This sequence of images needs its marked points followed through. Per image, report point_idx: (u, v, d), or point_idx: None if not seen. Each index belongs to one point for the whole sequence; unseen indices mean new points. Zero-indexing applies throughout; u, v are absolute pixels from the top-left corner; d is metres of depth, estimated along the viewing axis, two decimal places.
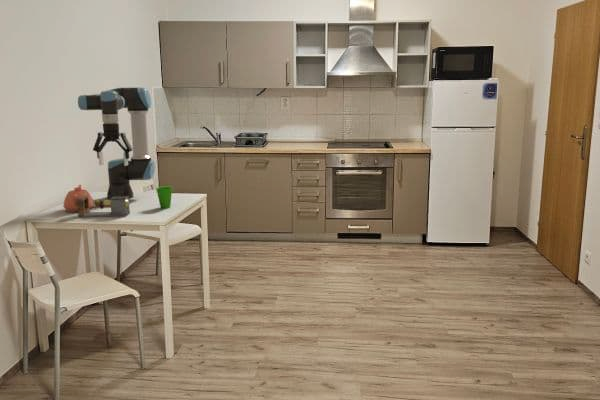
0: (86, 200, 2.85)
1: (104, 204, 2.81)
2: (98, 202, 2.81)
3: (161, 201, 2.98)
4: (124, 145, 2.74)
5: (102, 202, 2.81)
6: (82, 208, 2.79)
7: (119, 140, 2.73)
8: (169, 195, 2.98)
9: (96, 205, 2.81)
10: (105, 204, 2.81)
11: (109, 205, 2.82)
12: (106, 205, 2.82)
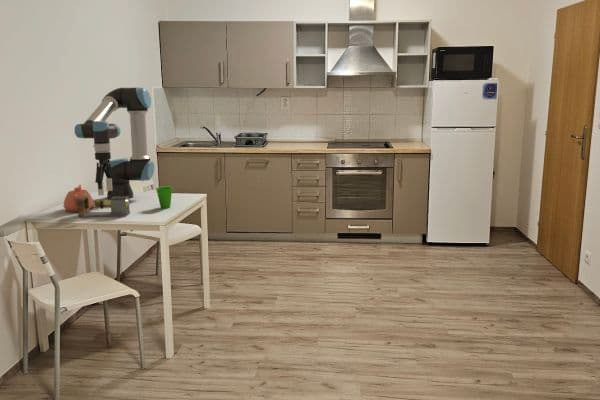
0: (86, 200, 2.85)
1: (104, 204, 2.81)
2: (98, 202, 2.81)
3: (161, 201, 2.98)
4: None
5: (102, 202, 2.81)
6: (82, 208, 2.79)
7: None
8: (169, 195, 2.98)
9: (96, 205, 2.81)
10: (105, 204, 2.81)
11: (109, 205, 2.82)
12: (106, 205, 2.82)
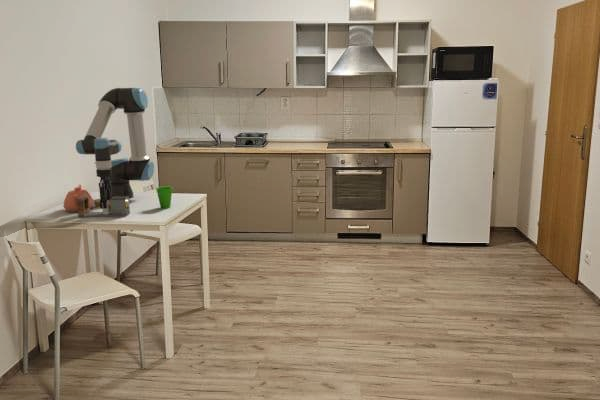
0: (86, 200, 2.85)
1: None
2: (98, 202, 2.81)
3: (161, 201, 2.98)
4: None
5: None
6: (82, 208, 2.79)
7: None
8: (169, 195, 2.98)
9: (96, 205, 2.81)
10: None
11: (109, 205, 2.82)
12: None
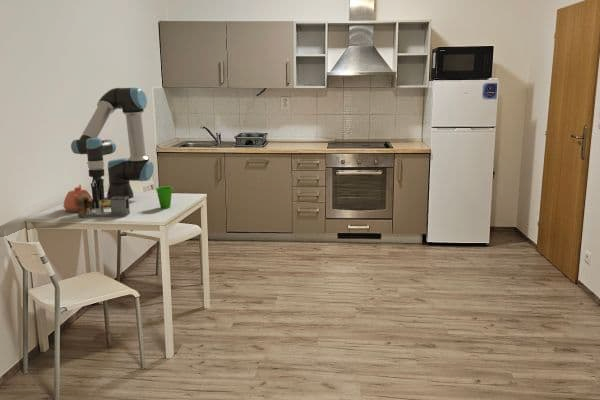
0: (86, 200, 2.85)
1: None
2: (90, 202, 2.81)
3: (161, 201, 2.98)
4: None
5: (94, 202, 2.81)
6: (82, 208, 2.79)
7: None
8: (169, 195, 2.98)
9: (88, 205, 2.81)
10: None
11: (101, 205, 2.81)
12: None
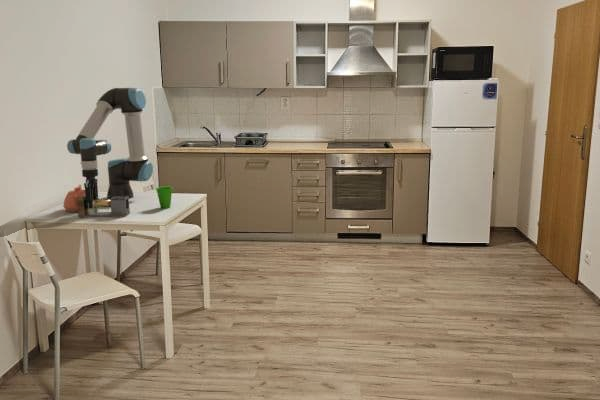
0: None
1: None
2: (84, 202, 2.81)
3: (161, 201, 2.98)
4: (91, 195, 2.79)
5: None
6: (82, 208, 2.79)
7: None
8: (169, 195, 2.98)
9: None
10: None
11: (95, 205, 2.81)
12: None
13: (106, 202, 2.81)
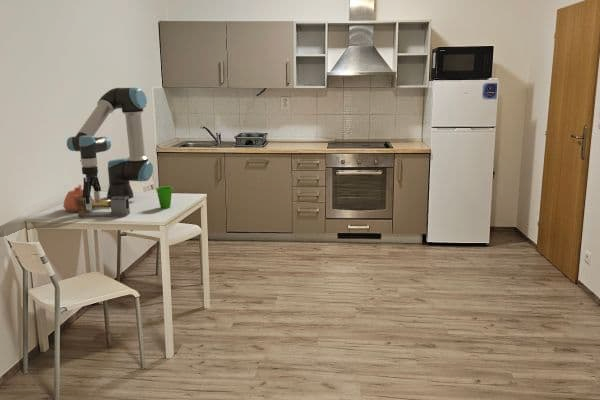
0: None
1: None
2: (84, 202, 2.81)
3: (161, 201, 2.98)
4: (89, 190, 2.75)
5: None
6: (82, 208, 2.79)
7: (88, 184, 2.77)
8: (169, 195, 2.98)
9: None
10: (91, 204, 2.81)
11: (95, 205, 2.81)
12: (92, 205, 2.81)
13: (106, 202, 2.81)
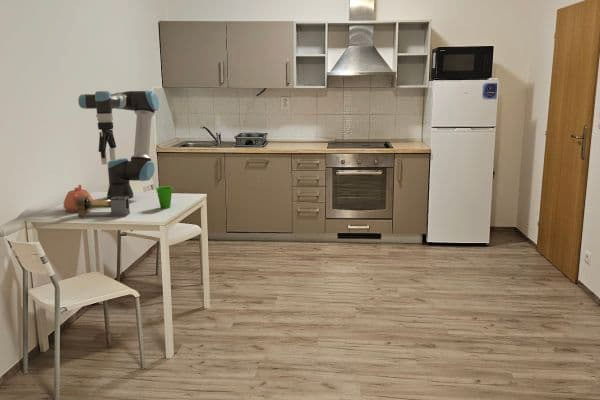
0: None
1: (90, 204, 2.81)
2: (84, 202, 2.81)
3: (161, 201, 2.98)
4: None
5: (88, 202, 2.81)
6: (82, 208, 2.79)
7: None
8: (169, 195, 2.98)
9: None
10: (91, 204, 2.81)
11: (95, 205, 2.81)
12: (92, 205, 2.81)
13: (106, 202, 2.81)
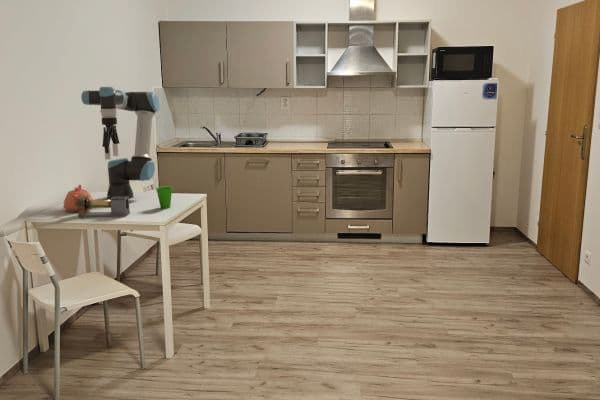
0: None
1: (90, 204, 2.81)
2: (84, 202, 2.81)
3: (161, 201, 2.98)
4: (108, 139, 2.80)
5: (88, 202, 2.81)
6: (82, 208, 2.79)
7: None
8: (169, 195, 2.98)
9: None
10: (91, 204, 2.81)
11: (95, 205, 2.81)
12: (92, 205, 2.81)
13: (106, 202, 2.81)
